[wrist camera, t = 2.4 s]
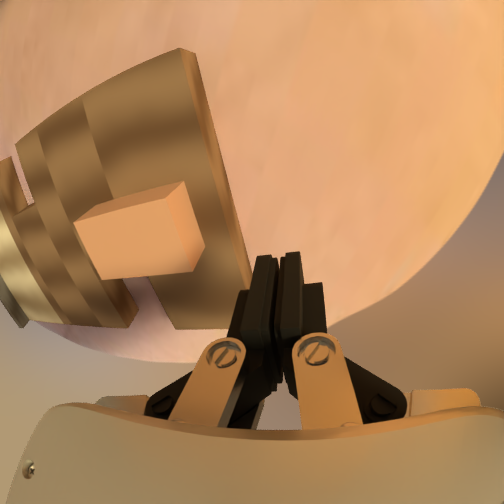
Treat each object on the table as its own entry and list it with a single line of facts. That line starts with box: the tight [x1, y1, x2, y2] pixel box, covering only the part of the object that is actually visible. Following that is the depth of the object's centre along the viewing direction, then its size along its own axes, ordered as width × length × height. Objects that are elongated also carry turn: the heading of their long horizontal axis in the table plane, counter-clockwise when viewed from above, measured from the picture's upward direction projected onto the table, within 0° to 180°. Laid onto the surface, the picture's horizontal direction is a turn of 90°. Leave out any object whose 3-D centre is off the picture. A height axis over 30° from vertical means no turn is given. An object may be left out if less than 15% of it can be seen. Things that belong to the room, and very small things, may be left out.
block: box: [74, 181, 205, 280], centre depth 18 cm, size 5×8×3 cm, turn 102°
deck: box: [0, 48, 253, 330], centre depth 22 cm, size 22×38×5 cm, turn 102°
